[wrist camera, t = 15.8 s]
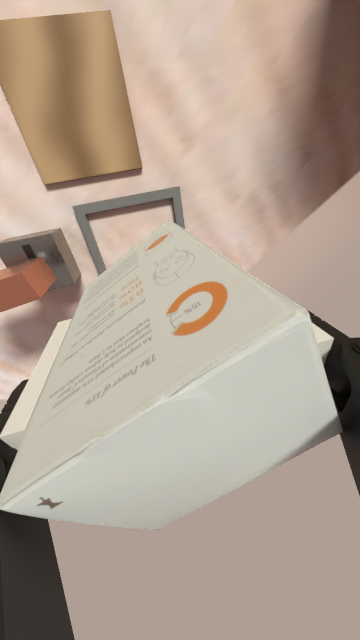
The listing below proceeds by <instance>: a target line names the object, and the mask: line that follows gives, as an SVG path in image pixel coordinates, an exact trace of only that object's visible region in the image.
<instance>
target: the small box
mask: <svg viewBox="0 0 360 640" xmlns="http://www.w3.org/2000/svg"><path fill="white" fill-rule="evenodd" d="M342 431H343V428H342V426H341V422H340V419H339V416H338V414H337V410H336V407H335V404H334V400H333V397H332V393H331V390H330V386H329V383H328V380H327V376H326V373H325V369H324V366H323V362H322V358H321V355H320V351H319V348H318V344H317V341H316V337H315V334H314V330H313V326H312V322H311V318H310V314H309V312H308V311H307V310H306V309H304V308H303V307H301V306H300V305H298V304H296V303H295V302H293V301H292V300H290V299H288V298H286V297H285V296H284V295H282V294H280V293H279V292H277V291H276V290H274V289H272V288H271V287H269V286H268V285H266V284H265V283H264V282H262V281H261V280H259V279H257V278H256V277H254V276H252V275H251V274H249V273H248V272H246V271H245V270H243V269H242V268H241V267H239V266H238V265H236V264H235V263H233V262H232V261H230V260H229V259H227V258H226V257H225V256H223V255H222V254H220V253H219V252H217V251H216V250H214V249H213V248H211V247H210V246H208V245H207V244H205V243H203V242H202V241H200V240H199V239H198V238H196V237H195V236H193V235H192V234H191V233H189V232H187V231H186V230H185V229H183V228H182V227H180V226H179V225H177V224H175V223H174V222H172V221H170V220H168V221H166V222H165V223H164V224H163V225H161V226H160V227H159V228H158V229H156V230H155V231H154V232H152V233H151V234H150V235H149V236H147V237H146V238H145V239H144V240H142V241H141V242H140V243H139V244H137V245H136V246H135V247H134V248H132V249H131V250H130V251H129V252H128V253H126V254H125V255H124V256H123V257H121V258H120V259H119V260H118V261H117V262H115V263H114V264H113V265H112V266H110V267H109V268H108V269H107V270H105V271H104V272H103V273H102V274H101V275H99V276H98V277H97V278H96V279H94V280H93V281H92V282H91V283H90V284H89V285H87V286H86V287H85V290H84V292H83V295H82V297H81V300H80V302H79V305H78V307H77V310H76V313H75V315H74V317H73V320H72V322H71V325H70V327H69V330H68V332H67V334H66V337H65V339H64V341H63V344H62V346H61V348H60V351H59V353H58V355H57V358H56V360H55V363H54V365H53V367H52V370H51V372H50V374H49V377H48V379H47V382H46V384H45V387H44V389H43V392H42V394H41V396H40V399H39V401H38V404H37V406H36V408H35V411H34V413H33V416H32V418H31V420H30V423H29V425H28V428H27V430H26V433H25V435H24V437H23V440H22V442H21V445H20V447H19V450H18V452H17V454H16V457H15V459H14V462H13V464H12V466H11V469H10V471H9V474H8V476H7V479H6V481H5V483H4V486H3V488H2V491H1V493H0V510H3V511H7V512H11V513H16V514H21V515H27V516H32V517H38V518H44V519H52V520H60V521H67V522H68V521H69V522H76V523H85V524H93V525H102V526H113V527H127V528H136V529H152V530H159V529H161V528H162V527H164V526H166V525H168V524H170V523H172V522H173V521H175V520H177V519H179V518H181V517H183V516H185V515H187V514H188V513H190V512H192V511H194V510H196V509H198V508H200V507H202V506H204V505H205V504H207V503H209V502H211V501H213V500H215V499H217V498H218V497H220V496H222V495H224V494H226V493H228V492H230V491H232V490H234V489H236V488H238V487H239V486H241V485H243V484H245V483H247V482H249V481H250V480H252V479H254V478H256V477H258V476H260V475H262V474H263V473H265V472H267V471H269V470H271V469H273V468H275V467H277V466H279V465H281V464H282V463H284V462H286V461H288V460H290V459H292V458H294V457H295V456H297V455H300V454H301V453H303V452H305V451H307V450H309V449H311V448H313V447H314V446H316V445H318V444H320V443H322V442H324V441H326V440H328V439H330V438H331V437H334V436H336V435H337V434H340V433H342Z"/></svg>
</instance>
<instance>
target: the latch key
mask: <svg viewBox="0 0 360 640" xmlns="http://www.w3.org/2000/svg"><path fill="white" fill-rule="evenodd" d="M55 280H56V276H55V275H54V273H53V272H52V270H51V269H50V267H49V266H48V264H47V263H46V261H45V260H44V258H43V257H39V258H30V259H29V260H27V261H26V262H24V263H21V264H18V265H15V266H12V267H9V268H6V269H3V270H0V312H3V311H6V310H9V309H11V308H14V307H17V306H20V305H23V304H26V303H29V302H32V301H35V300H38V299H40V298H41V297H42V296H43V295H44V294H45V292H46V291H47V290H48V289H49V287H50V286H51V285H52V284H53V282H54V281H55Z"/></svg>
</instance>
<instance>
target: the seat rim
mask: <svg viewBox="0 0 360 640" xmlns="http://www.w3.org/2000/svg"><path fill="white" fill-rule="evenodd" d="M167 198H172V202H173V209H174V215H175V222H176V224H177V225H179V226H180V227H182V228H183V229H185V226H184V218H183V211H182V203H181V195H180V188H179V187H173V188H168V189H163V190H157V191H152V192H147V193H141V194H136V195H131V196H125V197H120V198H115V199H109V200H104V201H99V202H93V203H88V204H83V205H77V206H73V209H74V212H75V214H76V217H77V219H78V222H79V224H80V227H81V229H82V232H83V234H84V237H85V240H86V242H87V245H88V247H89V250H90V252H91V255H92V257H93V260H94V263H95V265H96V268H97V270H98V273H99V275H101V274H102V273H103V272H104V271H105V270H106V268H105V265H104V262H103V259H102V257H101V254H100V251H99V249H98V246H97V243H96V240H95V238H94V235H93V232H92V230H91V227H90V224H89V221H88V219H87V216H86V214H89V213H94V212H99V211H104V210H110V209H115V208H120V207H125V206H130V205H135V204H141V203H146V202H151V201H156V200H161V199H167Z"/></svg>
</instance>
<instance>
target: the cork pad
mask: <svg viewBox="0 0 360 640" xmlns="http://www.w3.org/2000/svg"><path fill="white" fill-rule="evenodd" d="M0 84H1V86H2V88H3V91H4V93H5V95H6V97H7V100H8V102H9V104H10V107H11V109H12V111H13V114H14V116H15V118H16V120H17V123H18V125H19V127H20V130H21V132H22V134H23V136H24V139H25V141H26V143H27V146H28V148H29V150H30V152H31V155H32V157H33V159H34V162H35V164H36V166H37V168H38V171H39V173H40V175H41V178H42V180H43V182H44V184H52V183H58V182H64V181H69V180H75V179H81V178H87V177H92V176H98V175H104V174H110V173H115V172H121V171H127V170H132V169H138V168H142V163H141V158H140V153H139V148H138V143H137V139H136V134H135V129H134V124H133V119H132V114H131V109H130V105H129V100H128V95H127V90H126V85H125V80H124V75H123V71H122V66H121V61H120V56H119V51H118V46H117V41H116V37H115V32H114V27H113V22H112V17H111V12H110V10H107V11H97V12H86V13H75V14H64V15H53V16H42V17H31V18H20V19H9V20H0Z"/></svg>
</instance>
